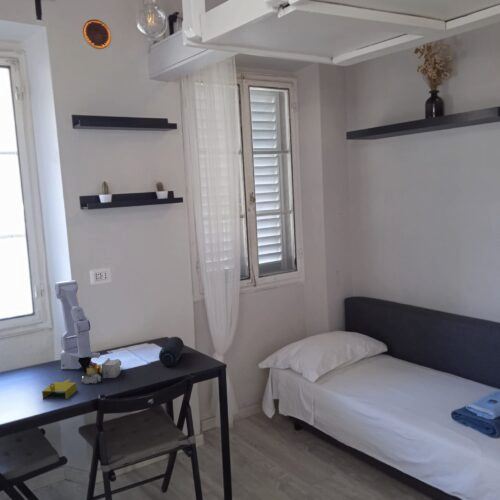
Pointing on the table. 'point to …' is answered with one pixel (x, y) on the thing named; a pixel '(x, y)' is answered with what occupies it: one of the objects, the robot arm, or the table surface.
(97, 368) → the valve
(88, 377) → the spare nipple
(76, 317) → the robot arm
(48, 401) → the table surface
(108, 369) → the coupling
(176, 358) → the portable speaker
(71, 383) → the bracket
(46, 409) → the table surface
